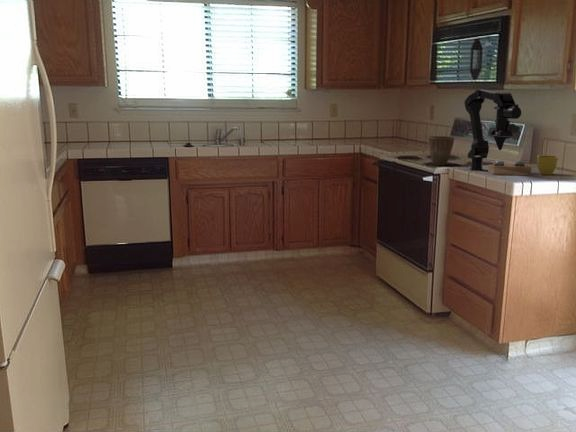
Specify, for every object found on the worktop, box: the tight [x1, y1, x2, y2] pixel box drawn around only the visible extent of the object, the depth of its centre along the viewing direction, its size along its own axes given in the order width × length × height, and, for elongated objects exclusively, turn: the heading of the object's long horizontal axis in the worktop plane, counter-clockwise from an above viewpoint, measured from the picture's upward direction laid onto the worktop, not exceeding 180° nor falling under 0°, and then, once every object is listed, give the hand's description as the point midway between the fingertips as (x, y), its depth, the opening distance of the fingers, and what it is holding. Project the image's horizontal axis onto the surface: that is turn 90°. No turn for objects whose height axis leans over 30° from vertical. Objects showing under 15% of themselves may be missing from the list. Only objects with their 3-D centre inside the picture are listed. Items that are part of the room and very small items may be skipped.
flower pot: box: [537, 154, 558, 176], centre depth 274 cm, size 9×9×9 cm
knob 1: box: [494, 160, 505, 166], centre depth 276 cm, size 4×4×6 cm
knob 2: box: [514, 160, 526, 166], centre depth 275 cm, size 4×4×6 cm
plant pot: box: [427, 135, 455, 166], centre depth 319 cm, size 15×15×16 cm
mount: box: [487, 164, 532, 176], centre depth 276 cm, size 10×18×4 cm, turn 84°
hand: (500, 150), depth 274 cm, fingers closed
